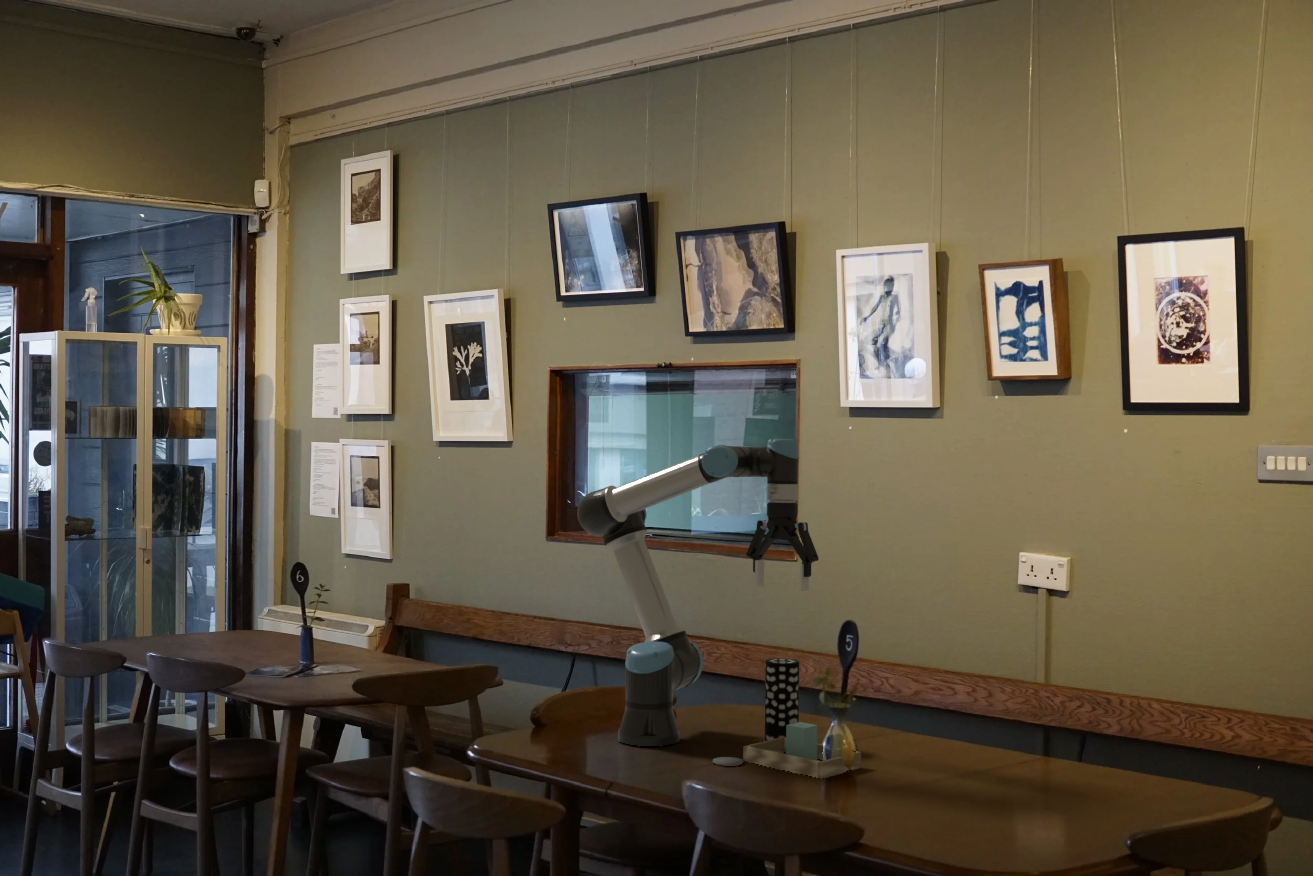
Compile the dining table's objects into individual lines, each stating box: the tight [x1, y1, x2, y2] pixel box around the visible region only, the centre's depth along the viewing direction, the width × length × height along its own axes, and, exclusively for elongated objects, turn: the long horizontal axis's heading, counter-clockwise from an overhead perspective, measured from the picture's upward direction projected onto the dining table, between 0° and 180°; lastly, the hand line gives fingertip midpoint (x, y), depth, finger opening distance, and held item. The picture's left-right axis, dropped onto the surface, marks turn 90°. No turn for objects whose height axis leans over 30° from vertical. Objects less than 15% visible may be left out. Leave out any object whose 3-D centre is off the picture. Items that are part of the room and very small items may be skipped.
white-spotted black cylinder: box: [764, 657, 800, 741], centre depth 306 cm, size 8×8×20 cm
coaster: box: [712, 756, 745, 765], centre depth 284 cm, size 7×7×1 cm
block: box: [785, 721, 818, 761], centre depth 283 cm, size 5×5×9 cm
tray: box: [742, 737, 862, 780], centre depth 283 cm, size 22×15×4 cm
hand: (781, 588), depth 305 cm, fingers open, 13 cm apart
